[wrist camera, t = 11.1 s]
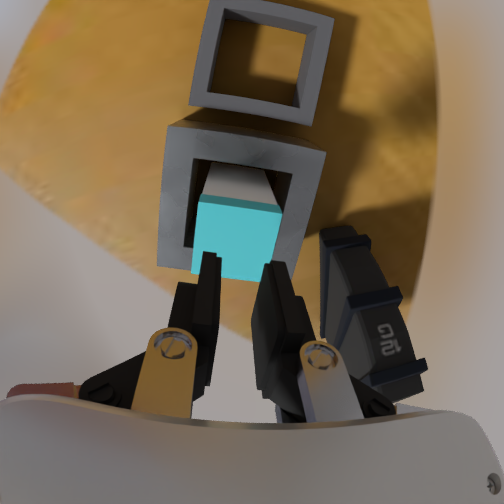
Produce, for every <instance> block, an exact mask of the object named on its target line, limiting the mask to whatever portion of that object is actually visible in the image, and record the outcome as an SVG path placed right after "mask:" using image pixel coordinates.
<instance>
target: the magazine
mask: <svg viewBox="0 0 504 504" xmlns="http://www.w3.org/2000/svg"><path fill="white" fill-rule="evenodd" d="M319 240H320V336H321V339H322V338H326V340H327V343H328V344H330V345H332V346H333V347H335V348H336V349H337V350H338V351H339V353H340V354H341V356H342V359H343V361H344V364H345V367H346V369H347V372H348V374H350V375H352V376H353V377H355V378H356V379H358V380H359V381H361V382H363V383H364V384H366V385H367V386H369V387H371V388H372V389H374V390H375V391H377V392H379V393H380V394H382V395H383V396H385V397H386V398H388V399H389V400H390V401H391V402H392V403H394V402H397V401H400V400H403V399H405V398H408V397H410V396H413V395H416V394H418V393H420V392H423V391H424V389H423V385H422V381H421V377H420V374H421V373H423V372H425V371H426V370H428V367H427V363H426V360H425V358H422V359H419V360H416V357H415V354H414V350H413V347H412V344H411V340H410V337H409V333H408V330H407V328H406V325H405V323H404V320H403V318H402V315H401V313H400V311H399V308H398V306H399V305H400V303H401V301H402V299H403V296H402V294H401V292H400V290H399V287H398V286H395V287H391V288H389V286H388V284H387V281H386V279H385V277H384V275H383V273H382V271H381V269H380V267H379V265H378V264H377V262H376V260H375V259H374V257H373V256H372V254H371V253H370V249H371V239H370V238H369V237H368V236H367V234H365V235H358V234H357V232H356V231H355V230H354V228H353V227H352V226H342V227H335V228H328V229H322V230H320V233H319Z"/></svg>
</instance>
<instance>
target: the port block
mask: <svg viewBox="0 0 504 504" xmlns="http://www.w3.org/2000/svg"><path fill="white" fill-rule="evenodd" d="M326 153H327V152H325V151H324V150H322V149H321V148H319V147H318V146H316V145H315V144H313V143H311V142H310V141H308V140H305V139H300V138H296V137H291V136H286V135H282V134H277V133H271V132H266V131H261V130H255V129H249V128H243V127H237V126H230V125H224V124H216V123H209V122H201V121H192V120H183V119H181V120H179V121H177V122H175V123H173V124H171V125H169V126H168V128H167V136H166V144H165V153H164V162H163V172H162V184H161V196H160V210H159V227H158V250H157V266H161V267H168V268H176V269H183V270H190V271H191V267H192V257H193V247H194V237H195V228H196V219H197V218H192V213H193V205H194V196H195V188H196V180H197V173H198V166H199V159H206V160H213V161H220V162H227V163H234V164H240V165H247V166H253V167H259V168H265V169H270V170H276V171H277V176H276V180H275V185H274V189H273V195H274V197H275V200H276V202H277V205H279V206H280V209H281V211H282V218H281V222H280V226H279V231H278V235H277V239H276V243H275V247H274V251H273V255H272V259H271V260H276V261H283V262H285V263H286V266H287V269H288V272H289V276H290V279H292V276H293V273H294V269H295V266H296V263H297V259H298V256H299V252H300V249H301V246H302V242H303V239H304V235H305V232H306V228H307V225H308V221H309V217H310V214H311V210H312V207H313V203H314V199H315V196H316V192H317V188H318V184H319V180H320V177H321V173H322V169H323V165H324V161H325V157H326Z"/></svg>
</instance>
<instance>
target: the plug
mask: <svg viewBox="0 0 504 504" xmlns="http://www.w3.org/2000/svg"><path fill="white" fill-rule="evenodd" d="M281 218H282V211H281V209H280V206H279V205H277V202H276V200H275V197H274V195H273V192H272V189H271V187H270V184H269V182H268V179H267V177H266V174H265V172H264V170H260V169H254V168H248V167H241V166H235V165H228V164H221V163H214V162H212V163H211V166H210V169H209V173H208V176H207V179H206V182H205V186H204V189H203V192H202V194H201V195H200V199H199V202H198V210H197V219H196V228H195V237H194V247H193V257H192V267H191V273H192V274H199V272H200V266H201V260H202V254H203V251H207V252H215V253H217V257H222V271H221V277H223V278H231V279H239V280H248V281H256V282H260V280H261V276H262V272H263V268H264V264H265V263H270V261H271V259H272V255H273V251H274V247H275V243H276V239H277V235H278V231H279V226H280V222H281Z"/></svg>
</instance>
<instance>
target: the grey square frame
mask: <svg viewBox="0 0 504 504" xmlns="http://www.w3.org/2000/svg"><path fill="white" fill-rule="evenodd" d="M225 19H231V20H238V21H245V22H251V23H257V24H262V25H267V26H272V27H277V28H282V29H286V30H291V31H295V32H299V33H303V34H307V37H306V41H305V46H304V51H303V56H302V60H301V65H300V70H299V74H298V79H297V84H296V88H295V93H294V98H293V102H292V107H291V106H286V105H282V104H277V103H272V102H267V101H261V100H256V99H250V98H244V97H238V96H232V95H225V94H217V93H210V90H211V85H212V80H213V74H214V69H215V64H216V59H217V54H218V49H219V45H220V40H221V35H222V31H223V26H224V22H225ZM333 24H334V18H331V17H328V16H325V15H321V14H318V13H314V12H311V11H307V10H303V9H299V8H295V7H291V6H287V5H282V4H278V3H273V2H268V1H262V0H210V1H209V5H208V10H207V14H206V18H205V22H204V27H203V31H202V36H201V40H200V45H199V50H198V55H197V60H196V65H195V70H194V76H193V81H192V87H191V92H190V98H189V105H190V106H199V107H207V108H215V109H222V110H229V111H236V112H242V113H248V114H254V115H260V116H265V117H270V118H275V119H280V120H285V121H290V122H294V123H299V124H303V125H307V126H312V122H313V118H314V114H315V109H316V105H317V100H318V96H319V91H320V87H321V82H322V78H323V73H324V68H325V63H326V59H327V54H328V49H329V44H330V39H331V34H332V29H333Z"/></svg>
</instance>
